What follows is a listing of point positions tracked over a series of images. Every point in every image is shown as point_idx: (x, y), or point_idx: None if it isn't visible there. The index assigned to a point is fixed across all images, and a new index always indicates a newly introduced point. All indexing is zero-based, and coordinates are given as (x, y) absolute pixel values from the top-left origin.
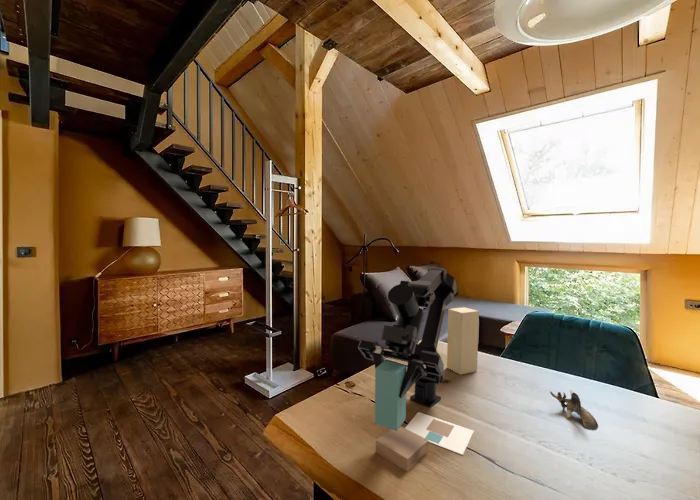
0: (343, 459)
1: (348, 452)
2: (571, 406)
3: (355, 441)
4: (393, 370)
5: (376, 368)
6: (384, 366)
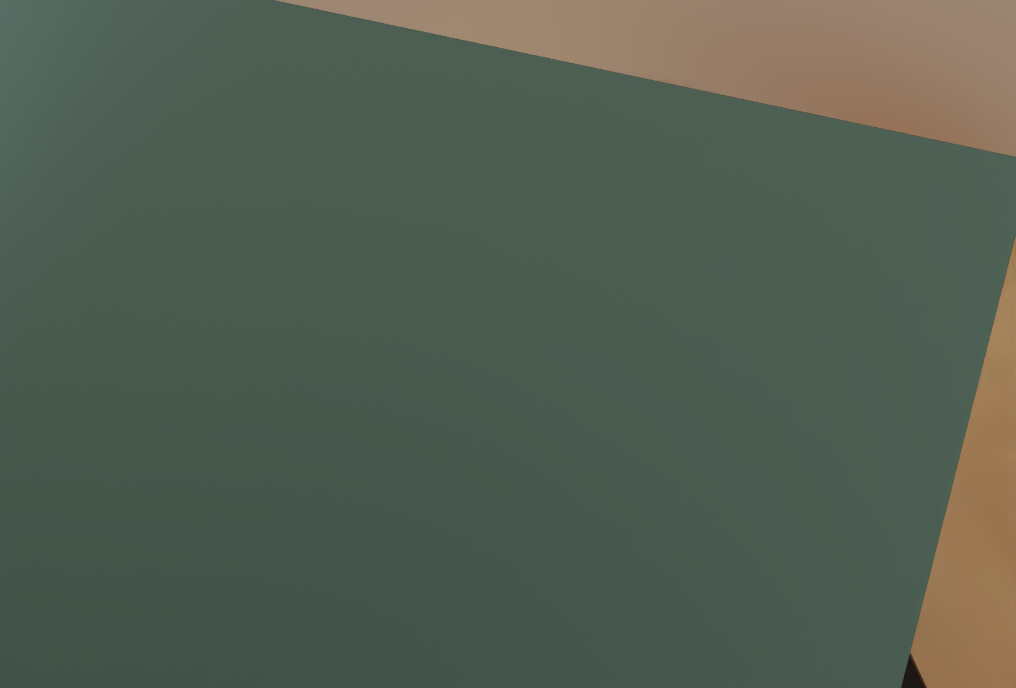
0: (996, 329)
1: (980, 430)
2: None
3: (960, 609)
4: (47, 197)
5: (962, 170)
6: (523, 573)
